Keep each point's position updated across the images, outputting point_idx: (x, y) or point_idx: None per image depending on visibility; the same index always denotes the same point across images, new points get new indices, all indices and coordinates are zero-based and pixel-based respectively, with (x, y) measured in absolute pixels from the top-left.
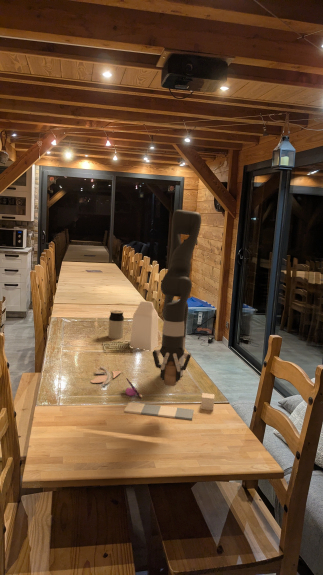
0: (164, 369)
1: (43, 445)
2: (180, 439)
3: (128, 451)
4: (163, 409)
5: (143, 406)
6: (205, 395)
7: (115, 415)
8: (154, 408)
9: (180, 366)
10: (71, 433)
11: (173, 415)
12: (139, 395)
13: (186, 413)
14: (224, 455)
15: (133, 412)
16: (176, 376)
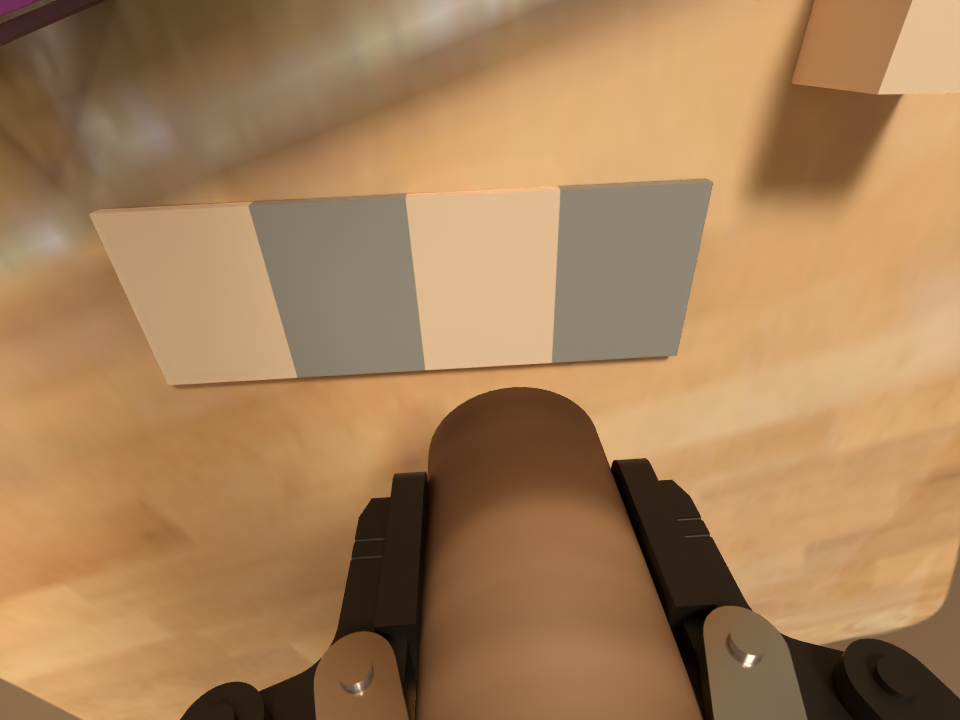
0: (414, 659)
1: (93, 702)
2: None
3: None
4: (445, 271)
5: (263, 268)
6: (955, 1)
7: (155, 437)
8: (367, 278)
9: (787, 717)
10: (107, 632)
11: (540, 353)
12: (73, 10)
13: (640, 287)
14: (769, 600)
15: (242, 376)
16: None
